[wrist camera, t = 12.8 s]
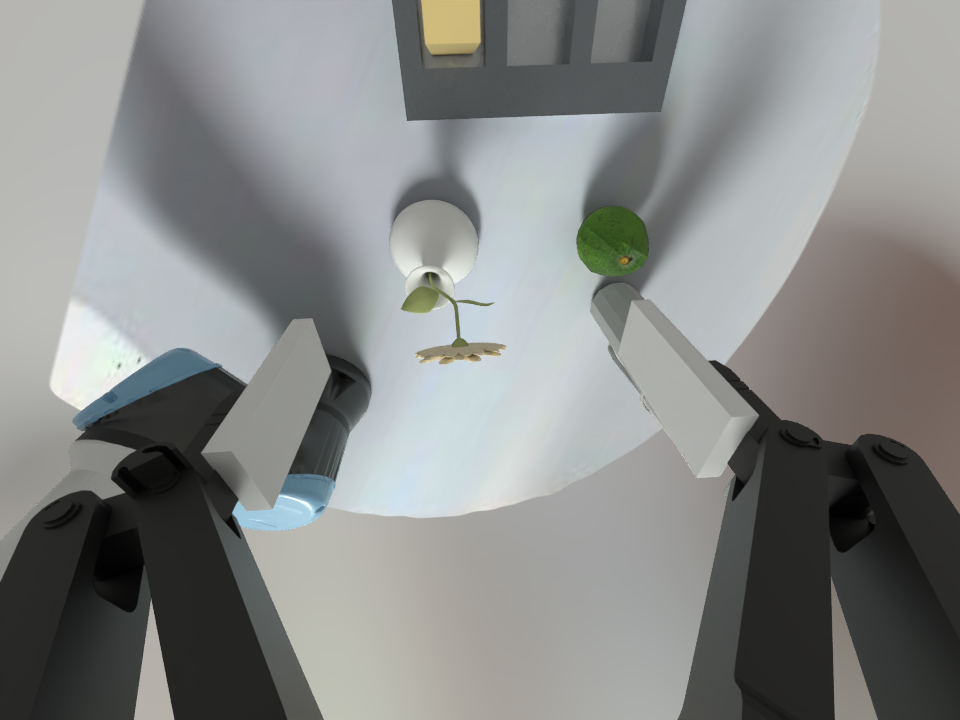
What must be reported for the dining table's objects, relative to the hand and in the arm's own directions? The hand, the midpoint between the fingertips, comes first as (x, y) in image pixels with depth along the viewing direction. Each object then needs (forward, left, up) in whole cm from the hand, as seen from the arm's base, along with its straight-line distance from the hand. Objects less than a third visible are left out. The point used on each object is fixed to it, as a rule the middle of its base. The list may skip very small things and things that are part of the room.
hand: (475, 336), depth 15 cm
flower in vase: (-3, -8, -35) cm, 36 cm away
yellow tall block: (0, +13, -34) cm, 36 cm away
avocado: (+18, -7, -35) cm, 40 cm away
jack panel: (+8, +13, -35) cm, 38 cm away
